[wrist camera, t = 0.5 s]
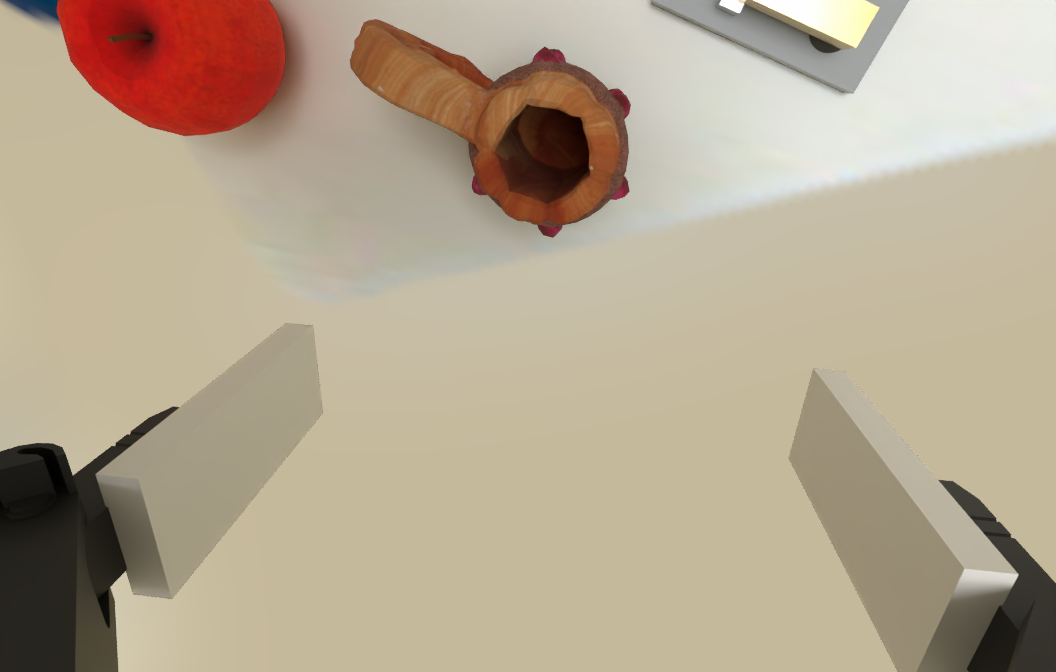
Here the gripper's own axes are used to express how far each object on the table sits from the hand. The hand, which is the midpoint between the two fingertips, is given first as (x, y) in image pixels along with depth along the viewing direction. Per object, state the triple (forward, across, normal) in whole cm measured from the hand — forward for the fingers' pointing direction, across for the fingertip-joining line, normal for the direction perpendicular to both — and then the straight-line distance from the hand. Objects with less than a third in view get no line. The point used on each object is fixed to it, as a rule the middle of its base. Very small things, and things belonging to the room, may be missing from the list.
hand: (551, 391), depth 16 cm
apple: (+27, -22, +8) cm, 36 cm away
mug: (+27, -4, +6) cm, 28 cm away
